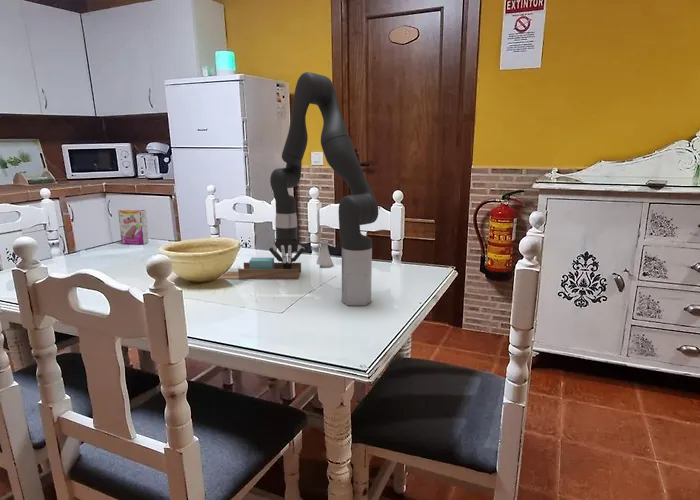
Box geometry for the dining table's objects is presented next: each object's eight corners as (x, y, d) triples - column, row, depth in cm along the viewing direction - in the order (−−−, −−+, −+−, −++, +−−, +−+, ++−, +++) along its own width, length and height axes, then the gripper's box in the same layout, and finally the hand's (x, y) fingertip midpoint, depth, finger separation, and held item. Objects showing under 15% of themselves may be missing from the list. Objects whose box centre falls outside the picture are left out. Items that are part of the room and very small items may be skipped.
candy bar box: (121, 244, 226) (117, 210, 222) (126, 242, 231) (123, 208, 227) (143, 245, 225) (140, 210, 221) (149, 242, 230) (145, 208, 226)
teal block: (272, 277, 170) (272, 261, 169) (250, 277, 170) (249, 260, 169) (274, 273, 175) (274, 257, 174) (252, 273, 175) (252, 257, 174)
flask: (334, 263, 194) (334, 239, 192) (332, 268, 187) (332, 243, 185) (317, 263, 195) (316, 239, 192) (313, 267, 188) (313, 242, 185)
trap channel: (298, 282, 168) (298, 269, 167) (210, 282, 168) (209, 269, 167) (301, 274, 178) (301, 262, 177) (217, 274, 178) (216, 262, 177)
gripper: (265, 227, 165) (267, 275, 169) (304, 227, 165) (305, 275, 169) (269, 223, 172) (270, 269, 176) (306, 223, 172) (306, 269, 176)
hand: (287, 272), depth 173 cm, fingers closed
